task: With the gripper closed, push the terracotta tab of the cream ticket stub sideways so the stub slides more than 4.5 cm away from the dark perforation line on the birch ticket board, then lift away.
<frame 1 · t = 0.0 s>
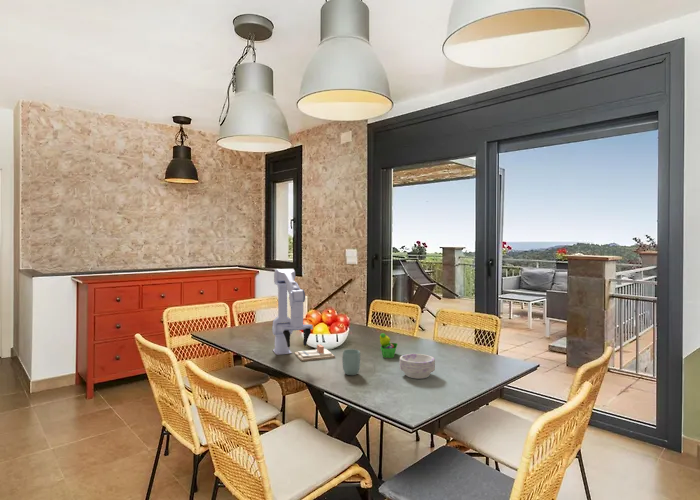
hand: (296, 345, 191), 10 cm above the table, fingers open, 7 cm apart
ticket board: (314, 355, 211), on the table
pale mottled bowl: (416, 376, 182), on the table
ticket stub: (323, 349, 213), point 3 cm above the table, slide at 0.0 cm
cup: (351, 374, 183), on the table
fruit basket: (387, 355, 214), on the table
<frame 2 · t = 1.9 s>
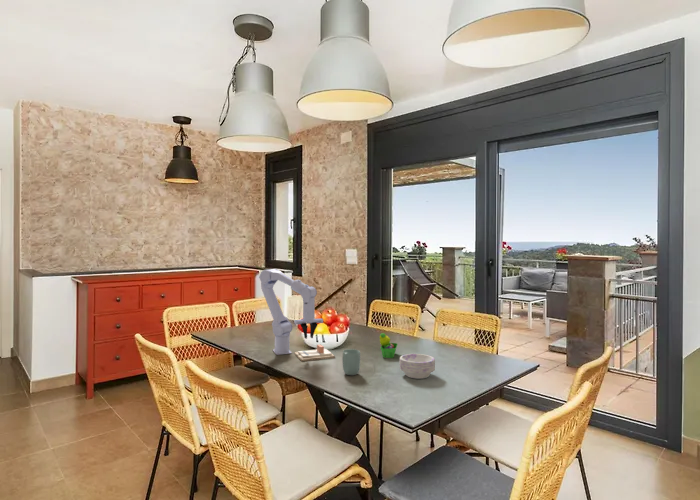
hand: (308, 337, 210), 9 cm above the table, fingers closed
nothing on the table moved.
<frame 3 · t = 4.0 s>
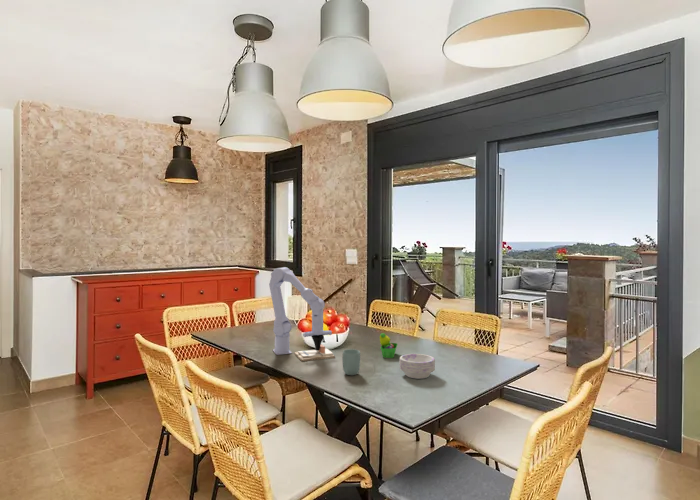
hand: (317, 349, 212), 3 cm above the table, fingers closed
ticket stub: (324, 349, 213), point 3 cm above the table, slide at 0.6 cm, touching gripper
everything else where it was.
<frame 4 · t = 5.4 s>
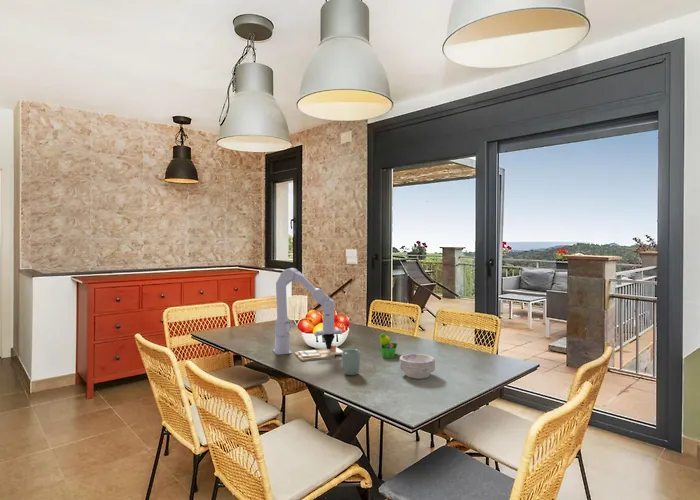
hand: (328, 348, 214), 3 cm above the table, fingers closed
ticket stub: (335, 348, 216), point 3 cm above the table, slide at 6.5 cm, touching gripper
everything else where it was.
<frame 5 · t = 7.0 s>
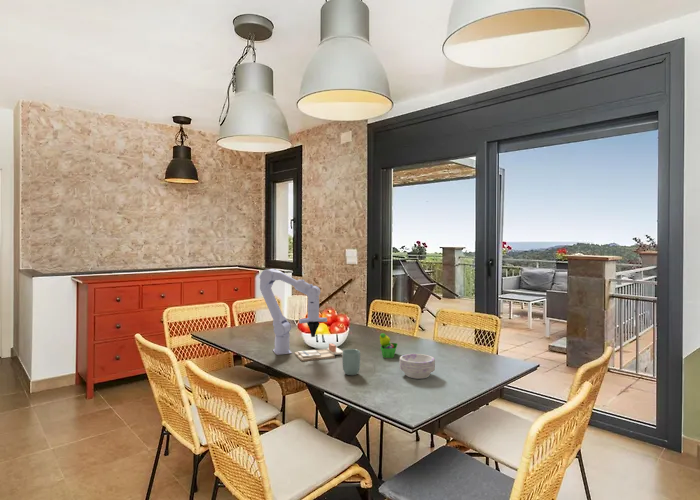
hand: (312, 336, 214), 9 cm above the table, fingers closed
ticket stub: (335, 348, 216), point 3 cm above the table, slide at 6.5 cm
everything else where it was.
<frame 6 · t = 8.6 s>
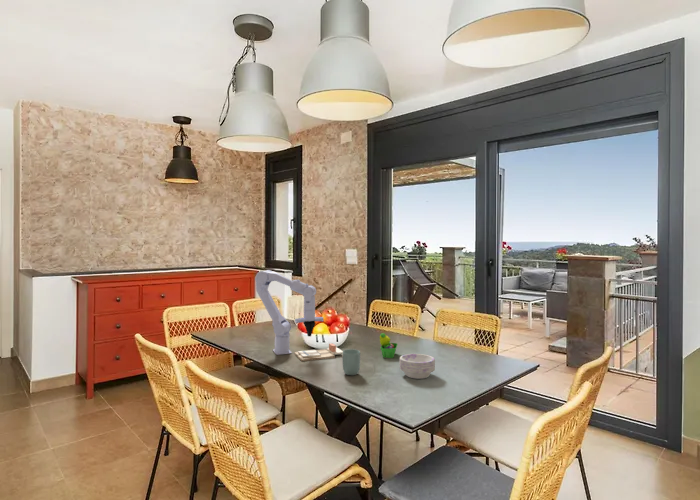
hand: (309, 335, 214), 9 cm above the table, fingers closed
nothing on the table moved.
at the end: ticket stub slide at 6.5 cm; cup moved 0.2 cm from its start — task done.
